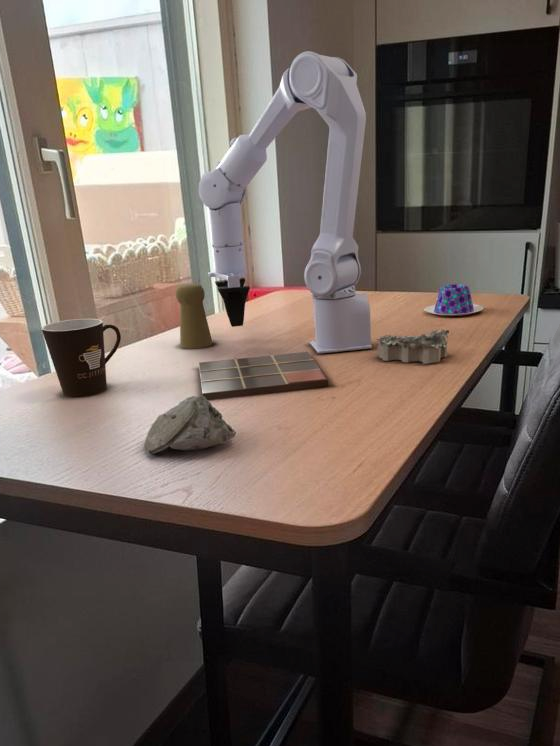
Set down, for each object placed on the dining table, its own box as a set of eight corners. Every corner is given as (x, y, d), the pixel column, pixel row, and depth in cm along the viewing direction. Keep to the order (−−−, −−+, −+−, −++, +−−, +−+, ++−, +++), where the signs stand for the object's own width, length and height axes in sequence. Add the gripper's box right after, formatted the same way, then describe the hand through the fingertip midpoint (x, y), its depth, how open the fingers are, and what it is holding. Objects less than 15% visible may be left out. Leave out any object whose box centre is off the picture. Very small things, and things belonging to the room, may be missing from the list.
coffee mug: (60, 403, 101) (45, 334, 97) (51, 389, 108) (37, 324, 104) (140, 388, 106) (129, 321, 101) (126, 376, 113) (115, 313, 108)
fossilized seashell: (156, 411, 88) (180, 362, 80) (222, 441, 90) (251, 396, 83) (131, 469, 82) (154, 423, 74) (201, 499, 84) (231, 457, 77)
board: (307, 357, 117) (307, 350, 116) (328, 386, 101) (328, 379, 100) (199, 368, 114) (198, 361, 114) (203, 400, 98) (202, 392, 98)
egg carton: (452, 354, 113) (453, 329, 112) (434, 366, 107) (435, 339, 106) (392, 349, 118) (392, 325, 117) (372, 360, 113) (371, 335, 111)
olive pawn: (206, 348, 127) (198, 286, 123) (175, 348, 128) (166, 287, 124) (217, 340, 133) (210, 281, 128) (187, 341, 134) (179, 282, 129)
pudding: (440, 305, 152) (440, 280, 150) (492, 308, 145) (494, 282, 143) (413, 315, 143) (413, 289, 141) (468, 319, 137) (469, 292, 134)
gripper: (203, 243, 131) (212, 316, 136) (206, 251, 118) (216, 331, 123) (241, 240, 132) (248, 313, 137) (248, 247, 119) (255, 328, 124)
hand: (235, 322), depth 130 cm, fingers open, 7 cm apart
